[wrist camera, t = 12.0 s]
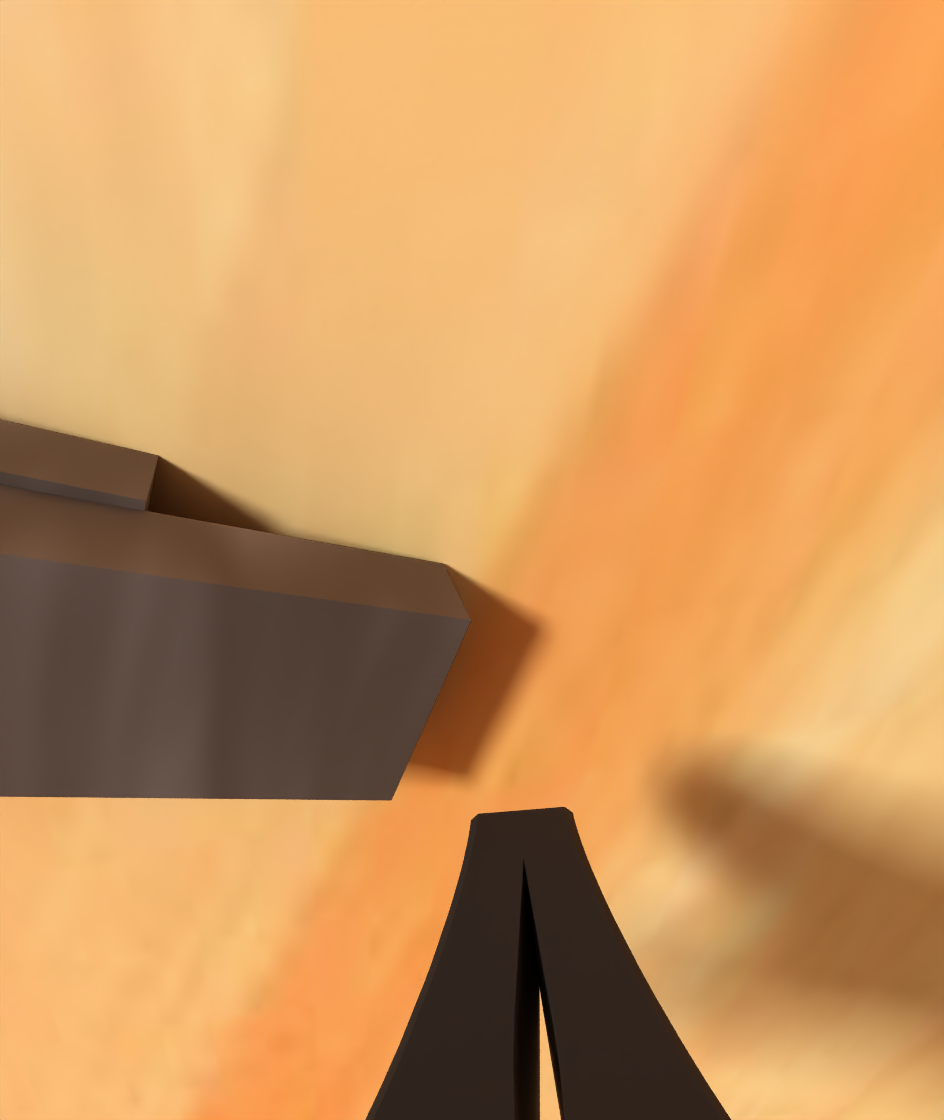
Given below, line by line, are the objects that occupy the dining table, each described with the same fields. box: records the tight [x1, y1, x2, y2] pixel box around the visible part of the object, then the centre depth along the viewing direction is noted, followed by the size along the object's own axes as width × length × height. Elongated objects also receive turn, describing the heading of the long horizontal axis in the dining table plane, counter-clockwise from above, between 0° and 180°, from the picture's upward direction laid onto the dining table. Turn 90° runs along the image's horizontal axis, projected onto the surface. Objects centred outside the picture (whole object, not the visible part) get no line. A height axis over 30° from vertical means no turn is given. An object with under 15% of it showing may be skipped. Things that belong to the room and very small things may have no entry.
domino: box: [0, 485, 471, 800], centre depth 11 cm, size 2×4×8 cm
